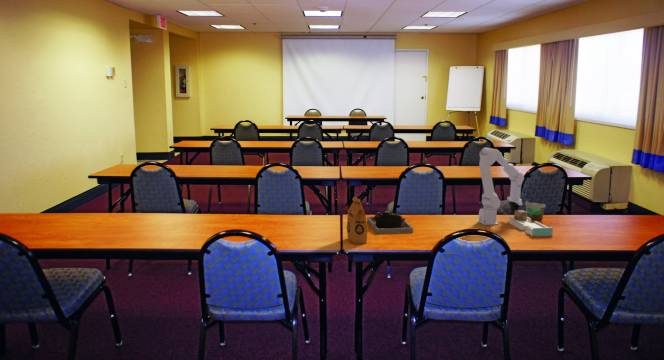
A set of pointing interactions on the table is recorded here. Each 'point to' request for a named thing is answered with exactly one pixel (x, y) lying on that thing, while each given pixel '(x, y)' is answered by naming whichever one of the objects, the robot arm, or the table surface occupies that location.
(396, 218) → the black lump on tray
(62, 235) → the table surface
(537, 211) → the food container
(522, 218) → the walnut block
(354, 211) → the coffee package
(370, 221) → the tray
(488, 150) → the robot arm
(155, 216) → the table surface
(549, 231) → the trap runway
